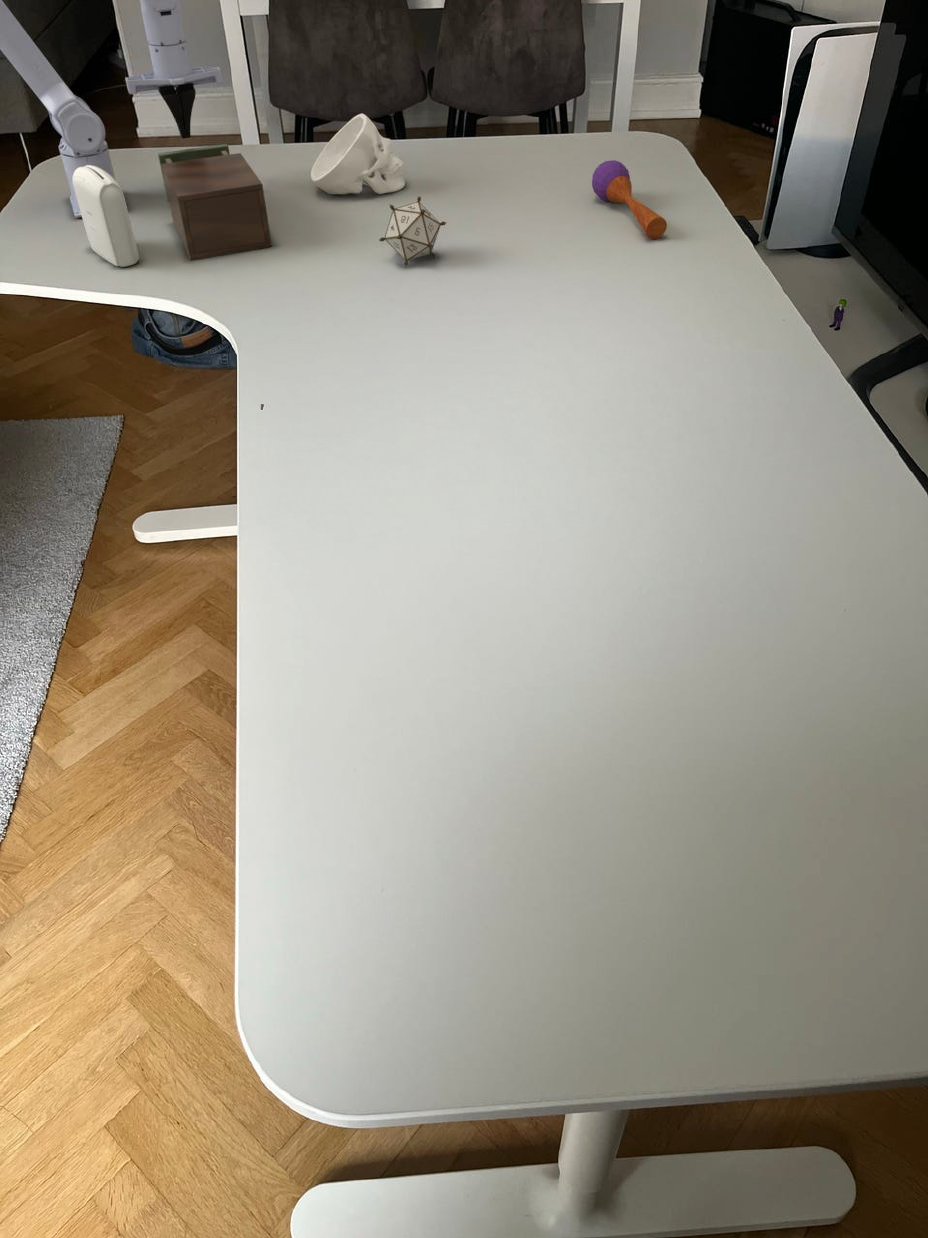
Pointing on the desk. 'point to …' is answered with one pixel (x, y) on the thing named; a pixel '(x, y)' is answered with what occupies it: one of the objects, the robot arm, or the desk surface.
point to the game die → (412, 231)
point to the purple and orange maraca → (625, 196)
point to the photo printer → (105, 215)
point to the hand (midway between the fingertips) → (185, 136)
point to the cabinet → (217, 205)
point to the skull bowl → (358, 161)
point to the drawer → (192, 155)
